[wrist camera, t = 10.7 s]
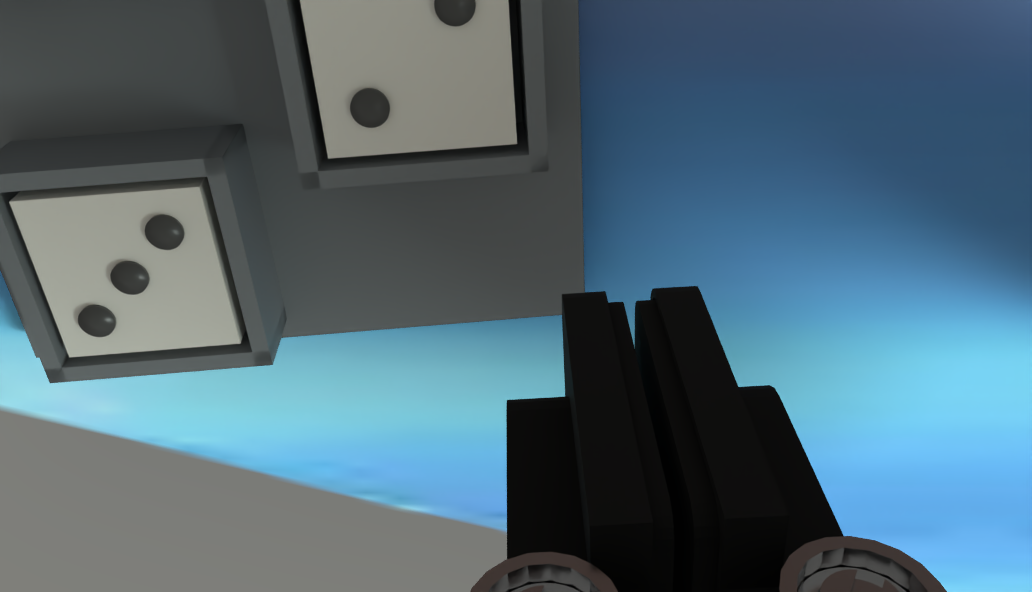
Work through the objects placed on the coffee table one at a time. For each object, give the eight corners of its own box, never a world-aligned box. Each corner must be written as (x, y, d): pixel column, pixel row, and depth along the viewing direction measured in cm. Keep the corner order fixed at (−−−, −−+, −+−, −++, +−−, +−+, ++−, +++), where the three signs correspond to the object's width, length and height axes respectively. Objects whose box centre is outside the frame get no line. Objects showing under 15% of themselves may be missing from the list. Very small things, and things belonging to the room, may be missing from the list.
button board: (563, -410, 20) (583, -447, 17) (580, 294, 30) (595, 357, 27) (-225, -360, 20) (-358, -388, 17) (50, 337, 30) (0, 406, 26)
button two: (501, -70, 22) (505, -56, 20) (512, 118, 25) (517, 146, 23) (305, -56, 22) (291, -40, 20) (337, 132, 25) (327, 160, 23)
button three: (216, 158, 25) (197, 189, 23) (254, 308, 27) (239, 346, 26) (40, 172, 25) (6, 204, 23) (93, 321, 27) (67, 360, 26)
